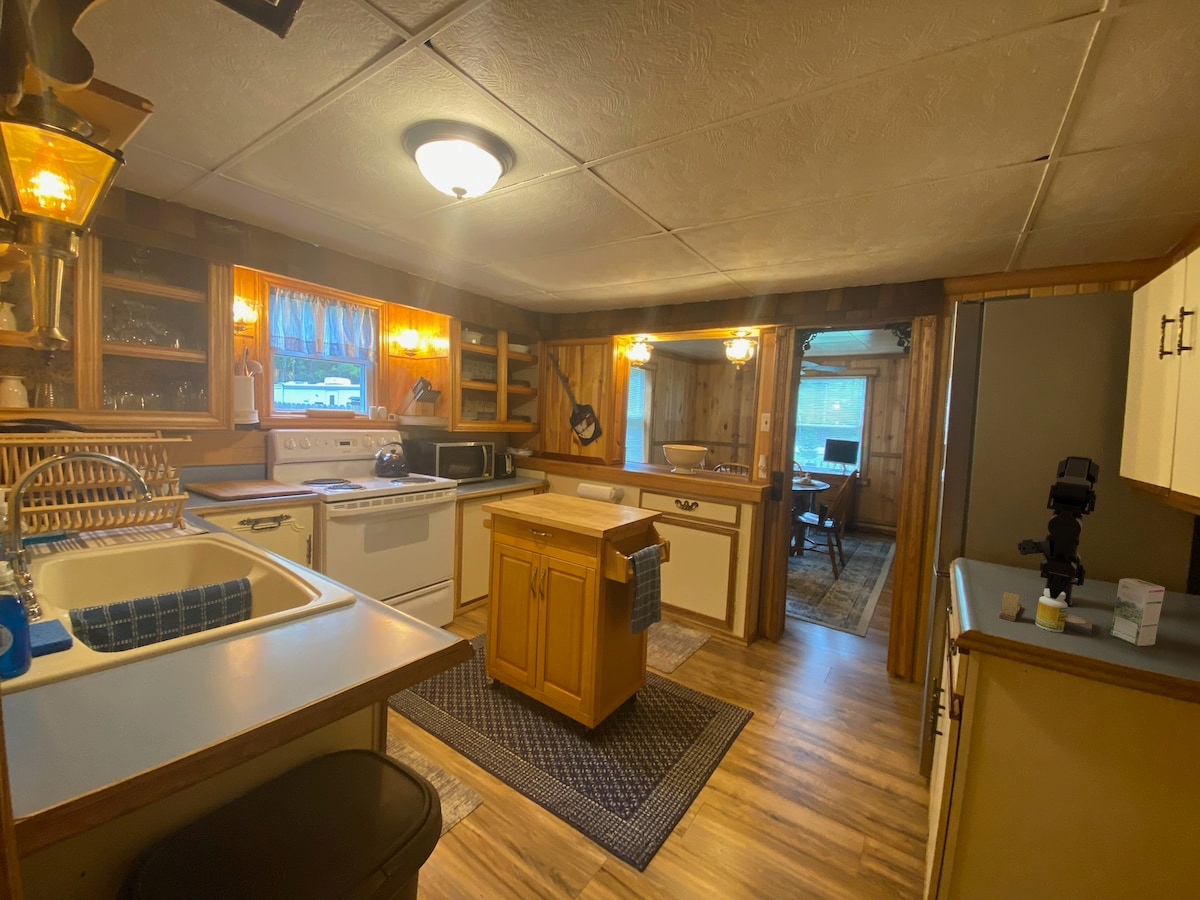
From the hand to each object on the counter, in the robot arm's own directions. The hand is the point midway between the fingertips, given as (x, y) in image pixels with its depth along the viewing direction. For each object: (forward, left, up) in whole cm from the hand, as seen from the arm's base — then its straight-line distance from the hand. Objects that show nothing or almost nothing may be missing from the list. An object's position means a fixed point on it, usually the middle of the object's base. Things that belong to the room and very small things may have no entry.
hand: (1054, 593), depth 126 cm
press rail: (-4, -8, -9) cm, 13 cm away
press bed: (-8, +3, -9) cm, 12 cm away
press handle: (+1, -8, -8) cm, 11 cm away
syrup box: (-8, +15, -9) cm, 19 cm away
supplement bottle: (0, 0, -9) cm, 9 cm away
